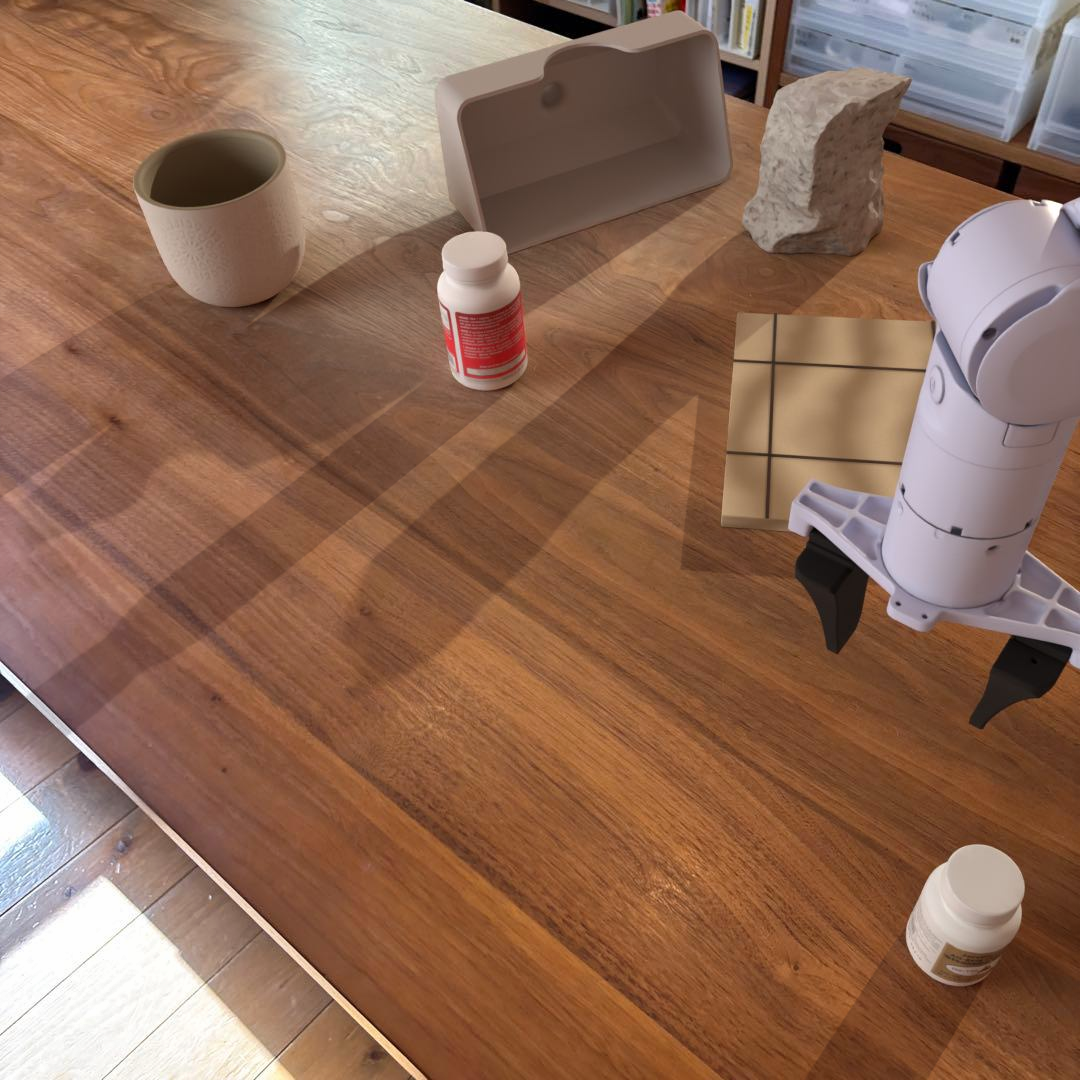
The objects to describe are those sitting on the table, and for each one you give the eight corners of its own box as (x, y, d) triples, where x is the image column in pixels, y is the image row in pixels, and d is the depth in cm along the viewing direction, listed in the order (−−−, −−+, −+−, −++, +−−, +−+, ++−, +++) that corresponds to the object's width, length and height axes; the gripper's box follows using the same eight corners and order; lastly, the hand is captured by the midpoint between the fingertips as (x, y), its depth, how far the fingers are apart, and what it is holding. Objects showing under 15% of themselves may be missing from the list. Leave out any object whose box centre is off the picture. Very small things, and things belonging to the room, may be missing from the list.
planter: (174, 334, 93) (129, 221, 85) (175, 252, 102) (134, 141, 93) (320, 308, 94) (290, 194, 86) (310, 228, 103) (282, 117, 94)
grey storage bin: (650, 106, 113) (651, -21, 104) (734, 178, 103) (744, 45, 94) (424, 176, 107) (403, 48, 98) (490, 260, 97) (474, 126, 88)
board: (969, 335, 87) (973, 322, 86) (998, 548, 72) (1003, 535, 71) (736, 324, 89) (737, 311, 88) (720, 527, 75) (721, 514, 74)
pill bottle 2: (941, 1004, 54) (977, 943, 48) (887, 924, 57) (915, 857, 51) (1014, 965, 55) (1059, 900, 49) (957, 888, 58) (993, 819, 52)
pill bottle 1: (544, 362, 88) (534, 243, 80) (491, 404, 85) (476, 285, 77) (486, 333, 91) (471, 214, 82) (434, 372, 88) (413, 254, 80)
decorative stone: (824, 191, 101) (846, 31, 90) (896, 237, 96) (928, 73, 85) (734, 230, 98) (746, 69, 87) (803, 280, 93) (824, 115, 82)
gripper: (766, 474, 47) (743, 659, 57) (1115, 634, 40) (1019, 810, 51) (846, 382, 50) (811, 572, 61) (1179, 516, 44) (1077, 703, 54)
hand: (910, 674), depth 56 cm, fingers open, 7 cm apart
